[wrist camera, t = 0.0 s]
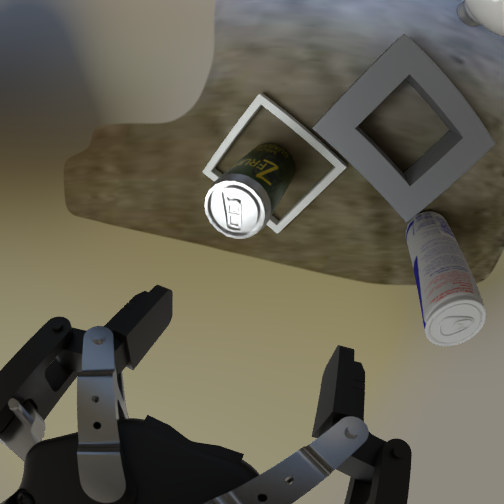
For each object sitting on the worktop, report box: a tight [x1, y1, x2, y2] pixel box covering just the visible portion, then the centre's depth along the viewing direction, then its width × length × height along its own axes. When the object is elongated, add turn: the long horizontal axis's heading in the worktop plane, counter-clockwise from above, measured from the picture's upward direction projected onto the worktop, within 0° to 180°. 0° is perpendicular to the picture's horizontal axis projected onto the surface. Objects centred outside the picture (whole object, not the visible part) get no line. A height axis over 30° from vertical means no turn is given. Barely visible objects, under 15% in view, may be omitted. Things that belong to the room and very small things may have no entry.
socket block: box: [312, 34, 496, 223], centre depth 22 cm, size 13×13×4 cm
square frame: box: [203, 93, 347, 234], centre depth 31 cm, size 12×12×1 cm
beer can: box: [205, 143, 295, 239], centre depth 27 cm, size 5×5×12 cm
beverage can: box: [405, 211, 486, 346], centre depth 23 cm, size 6×6×15 cm
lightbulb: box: [457, 0, 504, 37], centre depth 10 cm, size 6×6×11 cm
